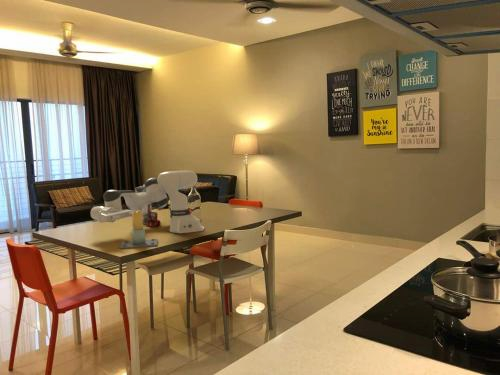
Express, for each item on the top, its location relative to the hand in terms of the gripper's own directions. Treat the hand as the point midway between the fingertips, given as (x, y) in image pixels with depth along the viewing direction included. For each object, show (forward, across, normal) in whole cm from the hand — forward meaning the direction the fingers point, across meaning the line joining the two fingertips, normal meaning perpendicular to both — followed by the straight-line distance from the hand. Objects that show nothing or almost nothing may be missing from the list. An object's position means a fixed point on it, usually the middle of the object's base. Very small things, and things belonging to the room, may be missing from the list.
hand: (126, 216), depth 235 cm
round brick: (+9, 0, -7) cm, 11 cm away
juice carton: (-44, -53, -16) cm, 71 cm away
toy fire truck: (-23, -41, -16) cm, 50 cm away
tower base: (+9, 0, -16) cm, 18 cm away
